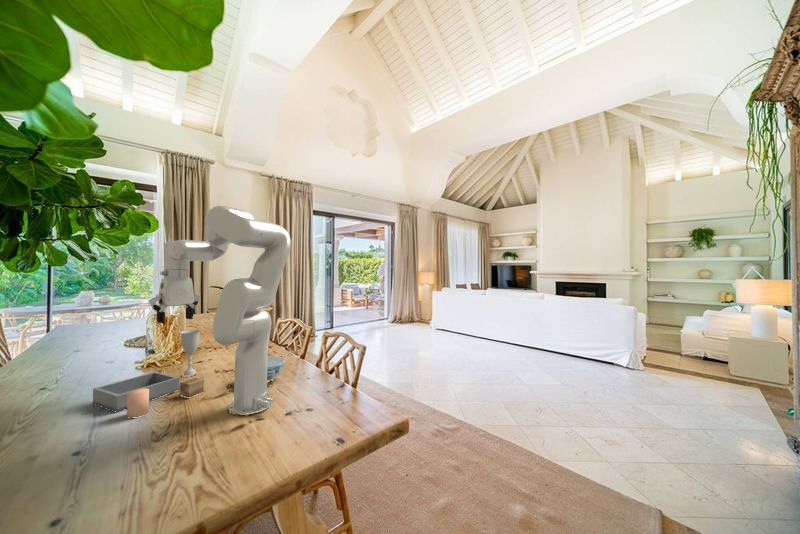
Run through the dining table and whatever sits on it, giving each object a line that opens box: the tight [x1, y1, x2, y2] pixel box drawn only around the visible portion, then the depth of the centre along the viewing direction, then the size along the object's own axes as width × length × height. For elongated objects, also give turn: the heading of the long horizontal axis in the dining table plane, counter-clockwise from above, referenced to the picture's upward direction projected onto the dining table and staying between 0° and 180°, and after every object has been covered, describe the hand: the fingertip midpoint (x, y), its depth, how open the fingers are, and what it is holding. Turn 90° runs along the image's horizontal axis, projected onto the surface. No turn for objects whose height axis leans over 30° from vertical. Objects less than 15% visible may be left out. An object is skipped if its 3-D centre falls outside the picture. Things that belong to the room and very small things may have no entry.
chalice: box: [179, 329, 202, 376], centre depth 126 cm, size 7×7×18 cm
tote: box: [92, 371, 180, 413], centre depth 105 cm, size 14×18×5 cm
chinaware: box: [267, 355, 286, 380], centre depth 122 cm, size 15×15×8 cm
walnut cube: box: [179, 377, 205, 397], centre depth 107 cm, size 5×5×5 cm
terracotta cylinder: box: [126, 388, 150, 418], centre depth 93 cm, size 5×5×7 cm
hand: (175, 320), depth 113 cm, fingers open, 9 cm apart
